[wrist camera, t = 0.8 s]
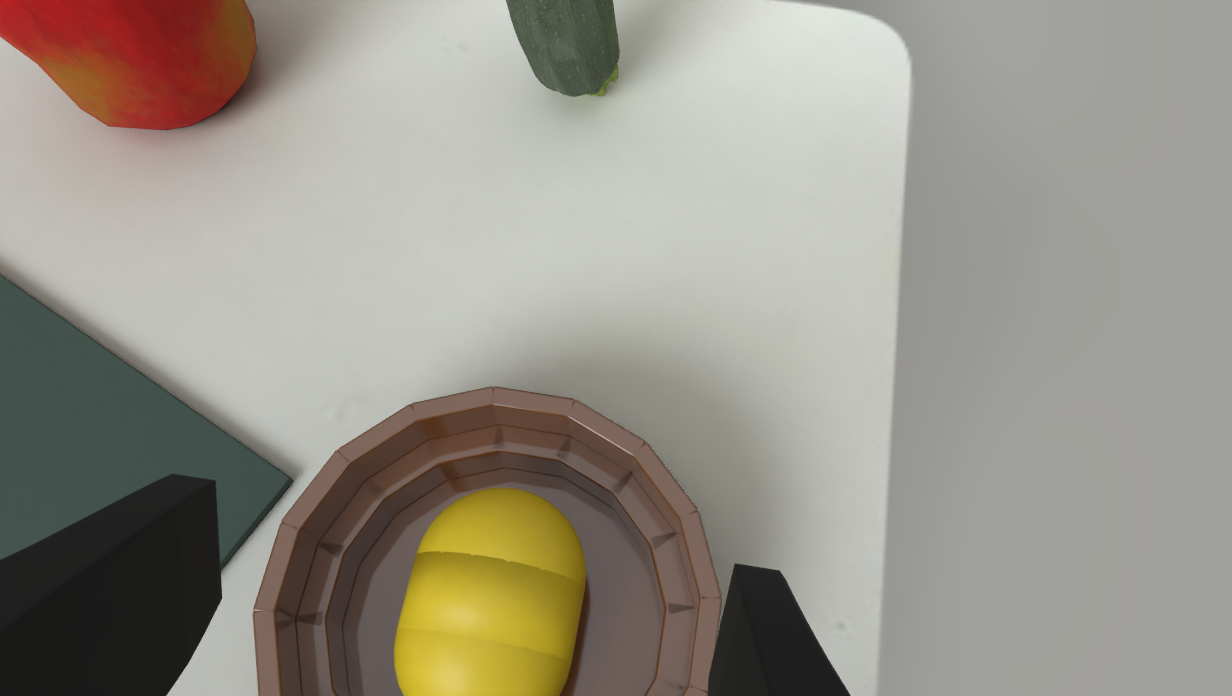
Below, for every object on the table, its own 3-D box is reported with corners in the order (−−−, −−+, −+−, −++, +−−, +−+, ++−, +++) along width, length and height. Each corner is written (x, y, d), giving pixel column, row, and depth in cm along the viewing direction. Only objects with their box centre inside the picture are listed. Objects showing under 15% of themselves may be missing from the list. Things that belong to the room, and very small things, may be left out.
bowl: (674, 890, 26) (684, 911, 22) (246, 806, 26) (186, 814, 23) (728, 465, 30) (743, 425, 27) (364, 406, 31) (331, 359, 28)
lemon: (559, 759, 27) (548, 759, 22) (394, 728, 27) (351, 722, 22) (601, 524, 29) (598, 482, 25) (450, 498, 30) (422, 452, 25)
